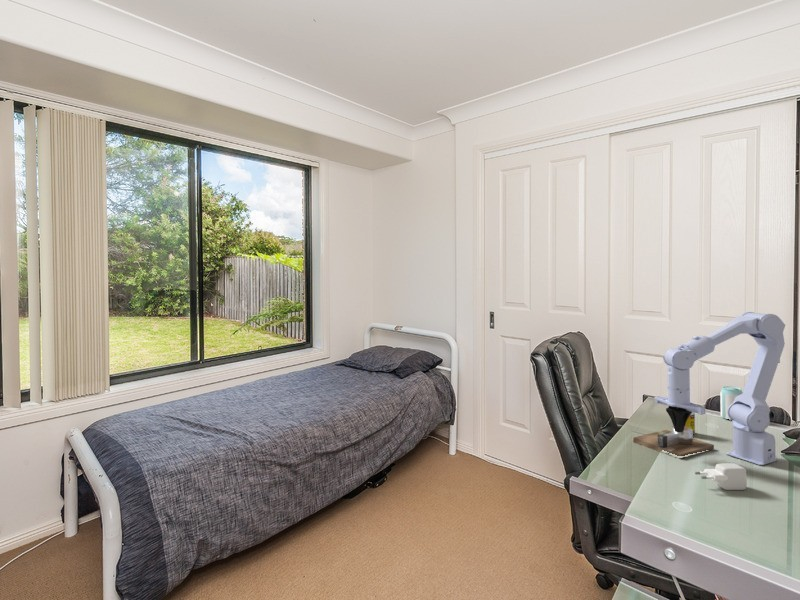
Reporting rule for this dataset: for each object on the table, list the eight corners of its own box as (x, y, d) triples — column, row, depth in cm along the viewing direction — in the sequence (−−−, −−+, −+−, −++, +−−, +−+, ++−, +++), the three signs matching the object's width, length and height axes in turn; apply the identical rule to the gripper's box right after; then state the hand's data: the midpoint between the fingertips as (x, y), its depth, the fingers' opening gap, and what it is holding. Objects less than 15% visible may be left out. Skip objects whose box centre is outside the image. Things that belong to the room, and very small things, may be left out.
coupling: (679, 437, 141) (679, 422, 141) (696, 442, 136) (696, 427, 136) (652, 444, 136) (651, 429, 136) (668, 450, 131) (668, 434, 131)
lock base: (713, 449, 134) (713, 444, 134) (680, 459, 128) (680, 454, 128) (665, 433, 149) (665, 429, 149) (633, 441, 143) (633, 437, 143)
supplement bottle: (693, 437, 145) (692, 408, 144) (674, 434, 149) (673, 405, 148) (696, 433, 148) (696, 404, 148) (678, 429, 152) (677, 402, 152)
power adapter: (704, 492, 108) (704, 470, 108) (692, 483, 113) (692, 462, 113) (749, 491, 108) (749, 469, 107) (735, 482, 112) (735, 461, 112)
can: (732, 415, 165) (732, 385, 165) (748, 421, 158) (748, 389, 158) (716, 416, 165) (715, 386, 165) (731, 422, 158) (731, 390, 158)
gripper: (647, 384, 135) (648, 426, 135) (694, 395, 121) (694, 441, 122) (662, 382, 137) (663, 423, 138) (709, 391, 124) (710, 437, 125)
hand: (679, 431), depth 130 cm, fingers closed
